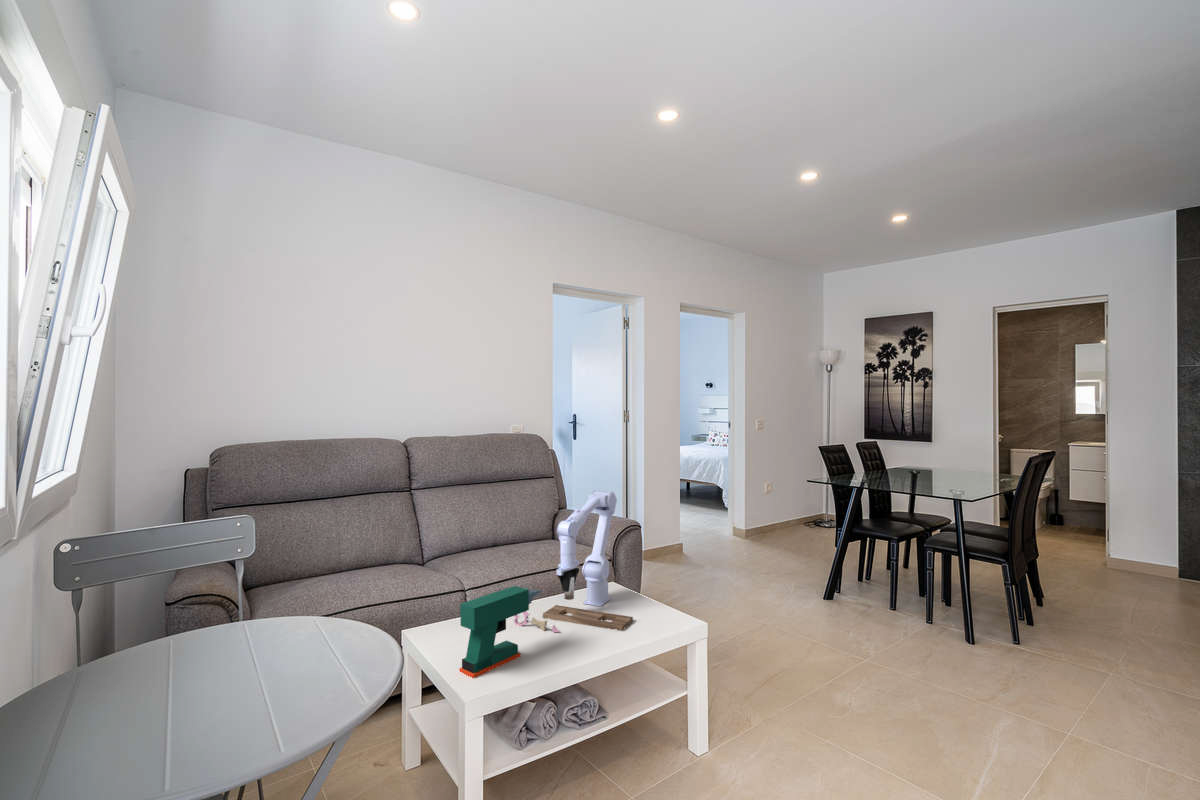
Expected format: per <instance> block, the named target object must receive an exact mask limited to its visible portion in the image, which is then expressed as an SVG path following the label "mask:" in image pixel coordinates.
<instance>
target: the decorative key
mask: <svg viewBox="0 0 1200 800" xmlns="http://www.w3.org/2000/svg"><path fill="white" fill-rule="evenodd" d="M522 613H523V616H524V620H523V622H522V623H520V622H519V621H518V619H519V618H520V616H519V614H517V615H515V616H514V620H513V621H514V624H515V625H516V626H517V625H519V626H518V627H522V626H525V625H528V624H529V623H530V622H531V624H532V625H536V626H538V627H540V629H541V630H542V631H543V632H544V631H546V630H547V629H549V630H552V631H551V633H552V632H554V633H561V630H559V629H557V627H556V625H555V624H553V625H552V626H550V625H548V624H547V623H548V620H547V619H546V620H537V619H536V618H535V617H532V618H530V617H529V616H531V614H530V612H528V611H525V612H522ZM529 621H530V622H529Z"/></svg>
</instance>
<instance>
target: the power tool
mask: <svg viewBox="0 0 1200 800" xmlns="http://www.w3.org/2000/svg"><path fill="white" fill-rule="evenodd" d="M542 592H543V589H540V590H539V589H538V590H530V589H529V588H527V587H521V586H516V585H514V586H510V587H507V588H504V589H500V590H498V591H496V592H492V593H488V594H486V595H483V596H479V597H477V598H474V599H471V600H467V601H465V602H462V603H460V606H459V607H460V615H459V617H460V627H463V628H464V629H465V628H466V629H468V630H470V634H469V639H468V642H467V643H468V644H467V649H466V656H465V657H464V658H462V659H461V667H460V668H459V671H460V672H462V673H464V674H463V675H465V674H466V675H465V676H467V675H468V676H467V677H469V676H470V677H469V678H471V677H472V678H471V679H475V678H477V676H478V677H480V676H482V675H484V674H486V673H488V672H490V671H489V670H491V671H492V669H493V670H494V668H495V669H497V668H499V667H501V666H503V664H504V665H505V663H506V664H508V663H510V662H512V661H515V660H516V658H517V659H519V658H520V657H521V652H519V644H517V643H514V642H512V641H509V640H504V641H501V642H499V643H497V644H495V642H496V635H497V634H499V633H501V632H503V631H506V630H507V619H509V618H511V617H515V615H520V614H522V613H523V612H525V611H526V612H528V611H530V604H532V602H533V598H535V597H536V596H537V595H539V594H540V593H542ZM518 657H519V658H518ZM509 661H510V662H509ZM498 666H499V667H498ZM496 667H497V668H496ZM487 671H488V672H487ZM460 672H459V673H460ZM485 672H486V673H485ZM462 673H461V674H462ZM483 673H484V674H483ZM481 674H482V675H481ZM479 675H480V676H479ZM474 677H475V678H474Z"/></svg>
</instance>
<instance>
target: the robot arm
mask: <svg viewBox="0 0 1200 800" xmlns="http://www.w3.org/2000/svg"><path fill="white" fill-rule="evenodd" d="M590 492H591V493H590V494H588V499H587V501H586V502H585V503H584V505H582V507H581V508H576V509H575V510H574V511H573V512H571V514H570V515H569V516H568V517H567V518H566V519H565V520H561V521H560V522H559V523H558V525H557V528H556V534H557V536H558V540H559V542H560V543H559V545H560V546H559V547H560V563H558V564H557V567H558V568H557V569H556V576H557V578H558V579H559V582H560V584H561V588H562V592H569V586H570V579H571V576H574V586H576V580H577V577H578V574H579V572H580V568H579V566H580V560H578V559H577V557H576V556H577V554H576V553H577V551H576V549H577V547H576V545H577V544H576V539H577V538H576V537H577V536H578V534H579V532H580V530H581V527H582V526H583V524H584V523H586V521H587V519H588V515H590V514H591V513H593V511H595V512H596V513H598V515H599V516H598V517H599V518H598V522H597V526H596V532H595V536H594V541H593V547H592V551H591V554H589V555H588V556H587V557H586V558H585V560H584V564H583V566H582V567H581V572H582V576H583V578H585V581H586V600H585V601H583V602H582V603H583V604H584V605H590V606H597V607H601V606H603V605H604V604H605V603H607V602H608V601H610V600H611V597H609V582H608V580H607V579H608V578H609V575H610V561H609V560H608V559H607V558H606V551H607V547H608V540H609V536H610V535H609V534H610V530H611V525H612V521H613V516H614V515H613V514H615V511H616V507H617V506H616V505H617V501H618V500H617V496H616V494H615V492H613V491H610V492H609V491H597V490H593V491H590Z"/></svg>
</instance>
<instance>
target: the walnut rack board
mask: <svg viewBox="0 0 1200 800" xmlns="http://www.w3.org/2000/svg"><path fill="white" fill-rule="evenodd" d="M569 613H570V615H569ZM543 617H544V618H543ZM542 618H543V619H548V618H550V619H549V620H554V619H555V620H556V621H560V622H567V623H571V624H572V623H573V624H578V625H579V624H580V625H583V626H590V627H596V628H602V627H603V629H608V628H609V630H614V629H617V630H616V631H620V630H623V629H624V628H625V627H626V626H627V625H628V624H629V623H630V622H631V623H633V622H634V617H633V616H628V615H623V614H615V613H610V612H604V611H598V610H597V611H596V610H590V609H584V608H577V607H571V606H565V605H564V606H563V605H557V604H555V605H554V606H552V607H550V608H549V609H548V610H546V611H544V612H543V613H542ZM602 619H603V620H602ZM607 619H608V620H609V621H605V620H607ZM601 620H602V621H601ZM631 623H630V624H631ZM630 624H629V625H630ZM629 625H628V626H629ZM628 626H627V627H628ZM627 627H626V628H627ZM626 628H625V629H626ZM625 629H624V630H625ZM624 630H623V631H624Z"/></svg>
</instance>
